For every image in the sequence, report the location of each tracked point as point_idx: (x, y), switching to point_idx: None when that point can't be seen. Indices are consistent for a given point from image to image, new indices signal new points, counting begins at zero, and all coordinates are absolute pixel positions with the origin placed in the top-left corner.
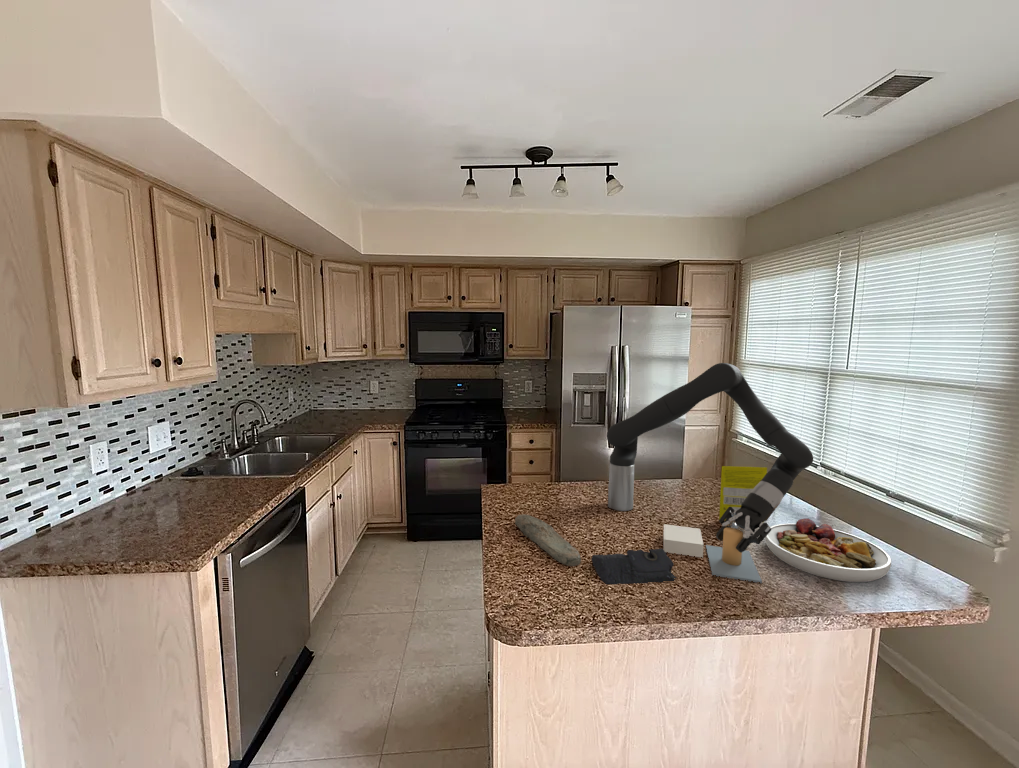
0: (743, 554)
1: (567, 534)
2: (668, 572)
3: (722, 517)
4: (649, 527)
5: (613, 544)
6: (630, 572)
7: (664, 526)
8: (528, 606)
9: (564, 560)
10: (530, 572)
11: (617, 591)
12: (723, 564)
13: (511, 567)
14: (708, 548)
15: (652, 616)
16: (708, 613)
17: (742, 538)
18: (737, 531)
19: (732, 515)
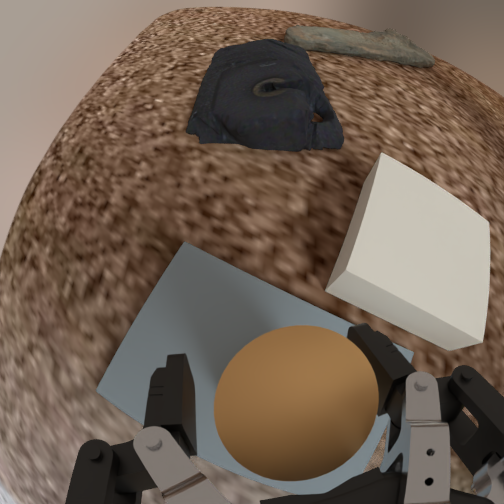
0: None
1: (405, 77)
2: (205, 113)
3: (485, 391)
4: (494, 233)
5: (385, 108)
6: (229, 67)
7: (475, 213)
8: (193, 16)
9: (286, 30)
10: (269, 20)
11: (188, 58)
12: (242, 332)
13: (284, 16)
14: None
15: (107, 80)
16: (61, 149)
17: (180, 413)
18: (289, 440)
19: (481, 471)
